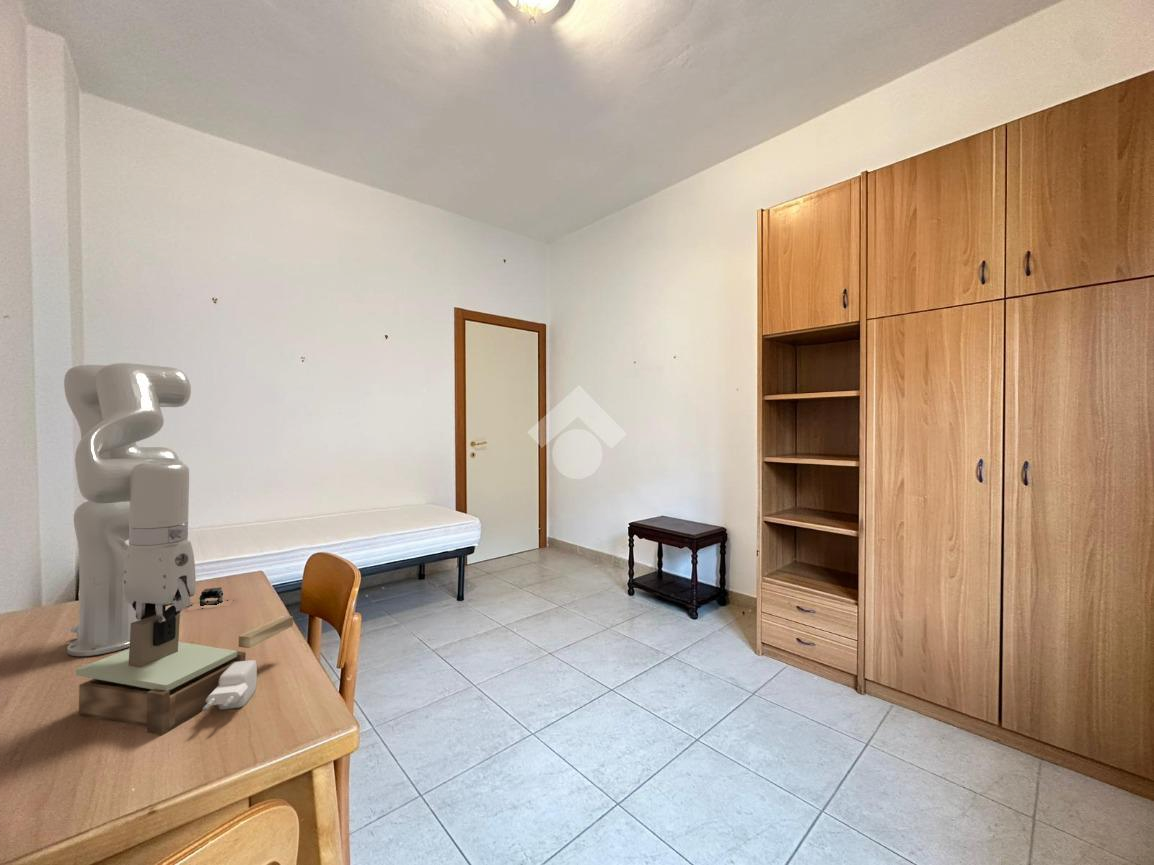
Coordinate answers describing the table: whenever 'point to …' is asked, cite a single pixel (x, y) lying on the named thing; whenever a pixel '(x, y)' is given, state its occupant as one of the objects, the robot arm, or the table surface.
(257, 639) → the tan rectangular block
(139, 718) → the brown wooden open box
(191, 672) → the lid
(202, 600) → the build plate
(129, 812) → the table surface
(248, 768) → the table surface
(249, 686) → the power adapter
